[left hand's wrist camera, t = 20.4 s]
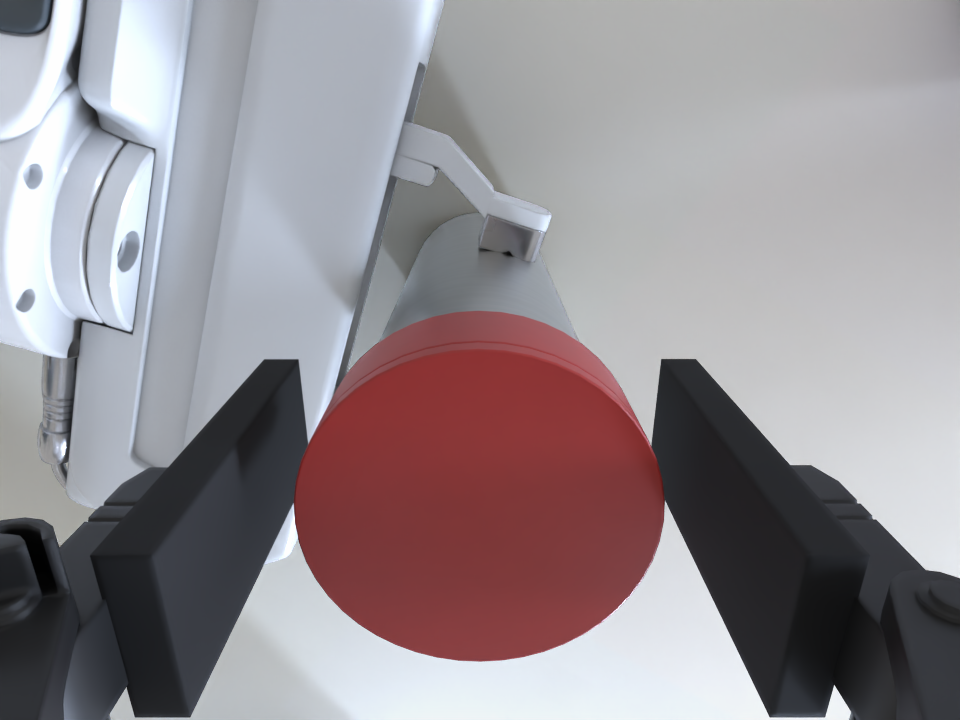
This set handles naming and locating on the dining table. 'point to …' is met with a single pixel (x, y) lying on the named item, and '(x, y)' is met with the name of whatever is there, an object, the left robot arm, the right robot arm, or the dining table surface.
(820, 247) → the dining table surface
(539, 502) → the lid
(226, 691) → the dining table surface
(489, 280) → the grey cylinder
